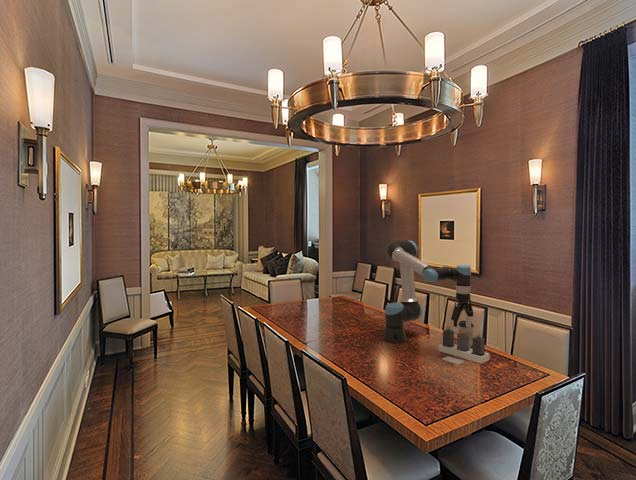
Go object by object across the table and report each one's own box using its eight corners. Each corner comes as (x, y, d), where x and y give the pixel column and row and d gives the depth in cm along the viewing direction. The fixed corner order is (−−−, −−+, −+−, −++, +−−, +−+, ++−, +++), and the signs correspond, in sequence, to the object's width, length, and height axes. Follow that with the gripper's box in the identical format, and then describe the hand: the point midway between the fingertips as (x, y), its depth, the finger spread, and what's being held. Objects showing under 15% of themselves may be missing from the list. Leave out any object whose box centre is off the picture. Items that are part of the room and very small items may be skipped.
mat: (441, 359, 195) (441, 359, 195) (448, 356, 199) (448, 355, 199) (458, 365, 187) (458, 364, 187) (464, 361, 192) (464, 361, 192)
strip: (438, 351, 207) (438, 326, 206) (446, 348, 213) (446, 323, 212) (481, 365, 187) (481, 337, 186) (489, 360, 193) (489, 333, 192)
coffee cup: (464, 348, 212) (464, 324, 211) (454, 343, 220) (454, 320, 220) (476, 347, 214) (477, 322, 214) (466, 342, 223) (467, 319, 222)
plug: (464, 357, 197) (464, 331, 196) (457, 354, 200) (457, 329, 200) (468, 355, 199) (468, 330, 199) (461, 353, 203) (461, 328, 202)
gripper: (457, 297, 188) (456, 336, 189) (480, 290, 203) (479, 326, 205) (444, 294, 193) (444, 332, 195) (468, 288, 209) (467, 323, 210)
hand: (462, 329), depth 200 cm, fingers open, 13 cm apart
